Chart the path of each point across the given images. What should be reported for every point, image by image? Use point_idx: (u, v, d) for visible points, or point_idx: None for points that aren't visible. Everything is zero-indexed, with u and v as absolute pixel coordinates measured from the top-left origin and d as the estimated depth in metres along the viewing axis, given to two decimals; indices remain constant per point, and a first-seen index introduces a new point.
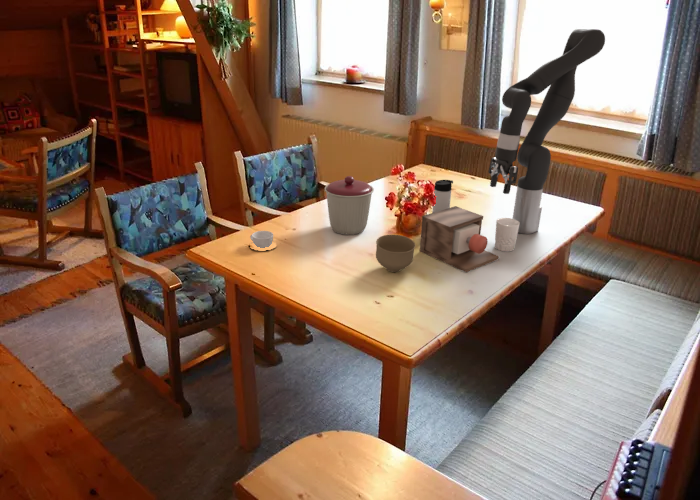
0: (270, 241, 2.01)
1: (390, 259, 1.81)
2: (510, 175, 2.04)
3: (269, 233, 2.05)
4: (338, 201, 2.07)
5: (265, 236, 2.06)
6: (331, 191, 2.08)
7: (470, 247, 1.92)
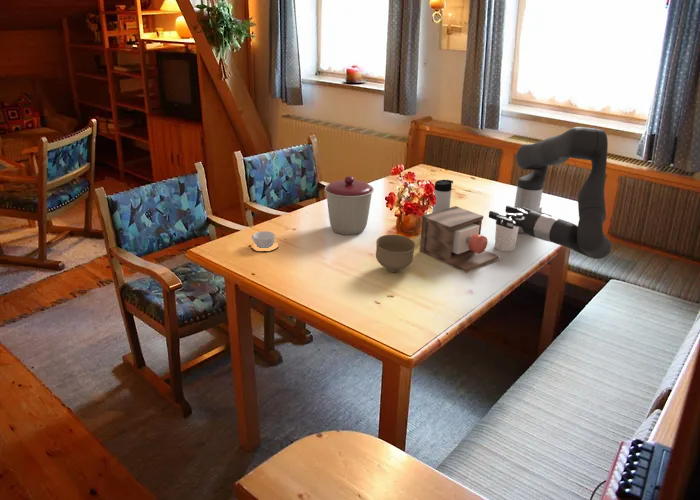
0: (271, 242, 2.01)
1: (390, 259, 1.81)
2: None
3: (271, 233, 2.05)
4: (338, 201, 2.07)
5: (267, 236, 2.06)
6: (331, 191, 2.08)
7: (470, 247, 1.92)
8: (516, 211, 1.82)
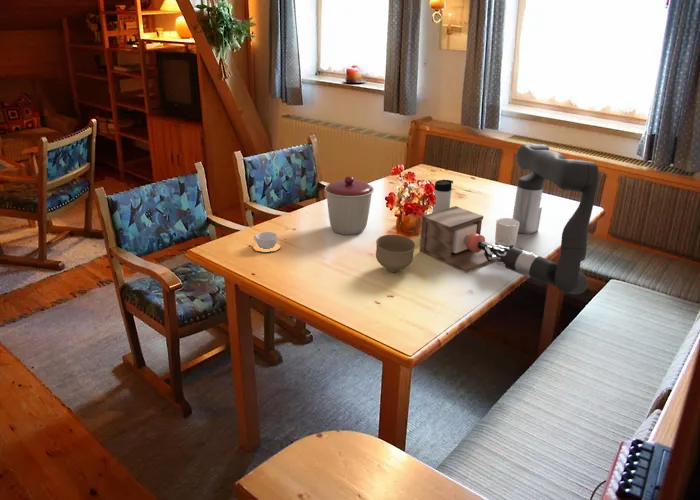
0: (274, 242, 2.00)
1: (390, 259, 1.81)
2: None
3: (273, 234, 2.04)
4: (338, 201, 2.07)
5: (269, 237, 2.05)
6: (331, 191, 2.08)
7: (467, 246, 1.93)
8: None
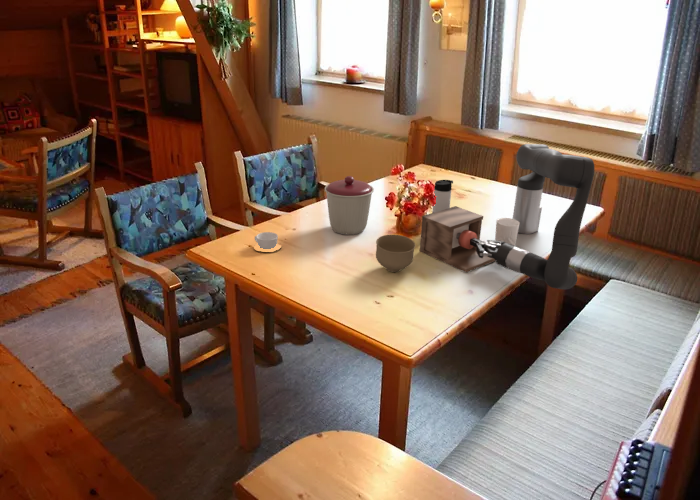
0: (274, 242, 2.00)
1: (390, 259, 1.81)
2: None
3: (273, 234, 2.04)
4: (338, 201, 2.07)
5: (269, 237, 2.05)
6: (331, 191, 2.08)
7: (459, 243, 1.95)
8: None
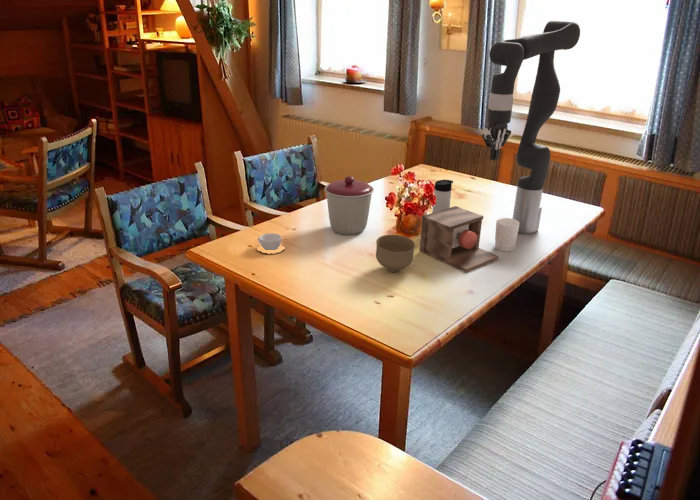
0: (278, 244, 1.99)
1: (390, 259, 1.81)
2: (506, 138, 1.93)
3: (277, 235, 2.03)
4: (338, 201, 2.07)
5: (273, 238, 2.04)
6: (331, 191, 2.08)
7: (459, 243, 1.95)
8: None
